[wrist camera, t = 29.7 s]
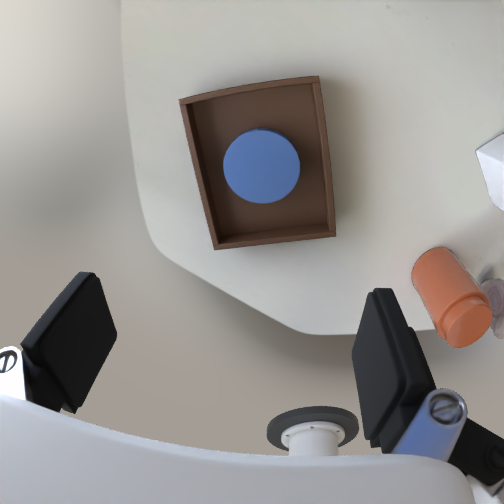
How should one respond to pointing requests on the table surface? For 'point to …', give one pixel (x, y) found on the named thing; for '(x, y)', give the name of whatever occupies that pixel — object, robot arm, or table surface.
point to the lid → (262, 165)
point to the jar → (451, 297)
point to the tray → (250, 117)
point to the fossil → (495, 304)
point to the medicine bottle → (493, 169)
